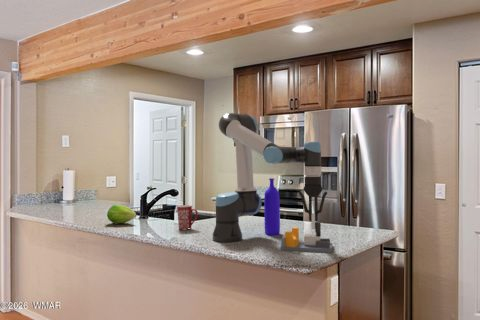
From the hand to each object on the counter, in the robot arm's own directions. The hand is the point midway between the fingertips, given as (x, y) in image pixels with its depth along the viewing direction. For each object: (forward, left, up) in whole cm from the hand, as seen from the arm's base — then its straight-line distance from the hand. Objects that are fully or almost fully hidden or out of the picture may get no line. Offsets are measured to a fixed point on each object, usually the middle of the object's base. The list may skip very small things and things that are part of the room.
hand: (313, 228), depth 176 cm
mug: (-75, +35, -9) cm, 83 cm away
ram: (-1, 0, -7) cm, 7 cm away
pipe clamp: (-9, +1, -8) cm, 12 cm away
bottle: (-24, +30, -9) cm, 39 cm away
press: (-3, 0, -9) cm, 10 cm away
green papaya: (-123, +44, -9) cm, 131 cm away
